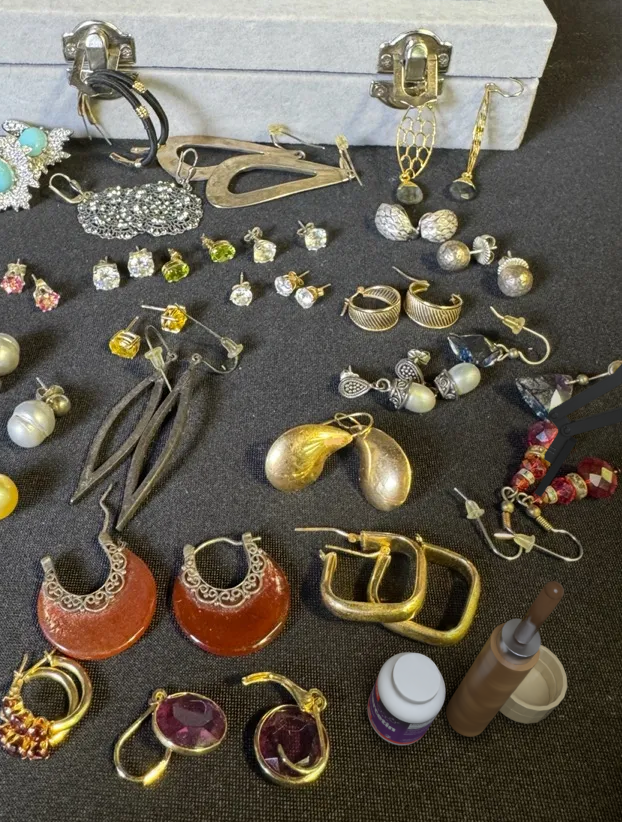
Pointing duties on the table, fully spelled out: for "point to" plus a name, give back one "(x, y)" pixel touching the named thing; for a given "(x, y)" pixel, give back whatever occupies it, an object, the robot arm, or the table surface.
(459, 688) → the wooden dowel cylinder
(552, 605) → the wooden handled stamp
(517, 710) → the bowl
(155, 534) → the table surface
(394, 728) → the pill bottle
